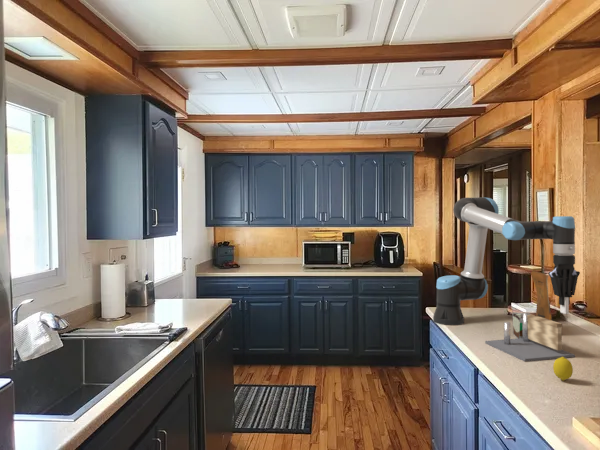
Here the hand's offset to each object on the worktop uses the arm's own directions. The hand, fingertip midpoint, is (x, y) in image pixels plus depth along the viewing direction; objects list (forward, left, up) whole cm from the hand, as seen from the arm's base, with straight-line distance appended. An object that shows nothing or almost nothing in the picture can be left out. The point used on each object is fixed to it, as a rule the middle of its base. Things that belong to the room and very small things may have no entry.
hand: (564, 313), depth 174 cm
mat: (-5, -13, -15) cm, 21 cm away
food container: (-21, -2, -16) cm, 26 cm away
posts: (-12, -12, -15) cm, 23 cm away
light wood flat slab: (-3, -7, -13) cm, 15 cm away
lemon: (+26, -25, -16) cm, 39 cm away
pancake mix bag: (-28, +14, -16) cm, 35 cm away
